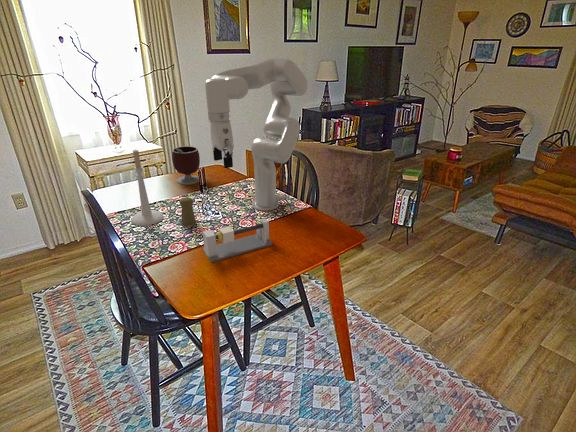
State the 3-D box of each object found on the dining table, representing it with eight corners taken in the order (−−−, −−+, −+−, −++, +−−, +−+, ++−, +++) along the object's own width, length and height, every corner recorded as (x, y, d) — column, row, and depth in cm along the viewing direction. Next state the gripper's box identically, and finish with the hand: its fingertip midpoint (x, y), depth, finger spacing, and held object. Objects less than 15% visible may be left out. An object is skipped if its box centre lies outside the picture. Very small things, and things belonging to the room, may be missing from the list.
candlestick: (129, 215, 151) (115, 147, 138) (160, 210, 157) (149, 143, 144) (133, 228, 141) (119, 155, 128) (166, 221, 147) (155, 151, 134)
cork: (192, 226, 143) (189, 202, 139) (178, 225, 144) (175, 200, 140) (198, 220, 149) (196, 196, 144) (185, 218, 150) (182, 195, 145)
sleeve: (230, 235, 128) (229, 226, 127) (234, 240, 125) (233, 230, 124) (219, 238, 127) (218, 228, 125) (223, 243, 124) (223, 233, 122)
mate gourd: (183, 174, 198) (179, 139, 189) (206, 177, 195) (203, 141, 186) (168, 184, 185) (163, 147, 176) (192, 187, 182) (188, 149, 173)
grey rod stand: (261, 234, 139) (261, 214, 135) (272, 244, 132) (272, 223, 128) (202, 250, 128) (200, 228, 124) (211, 262, 121) (209, 240, 117)
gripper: (239, 120, 118) (242, 168, 126) (219, 111, 131) (223, 155, 139) (218, 122, 114) (222, 172, 122) (200, 113, 127) (205, 158, 135)
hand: (223, 163), depth 130 cm, fingers open, 9 cm apart
